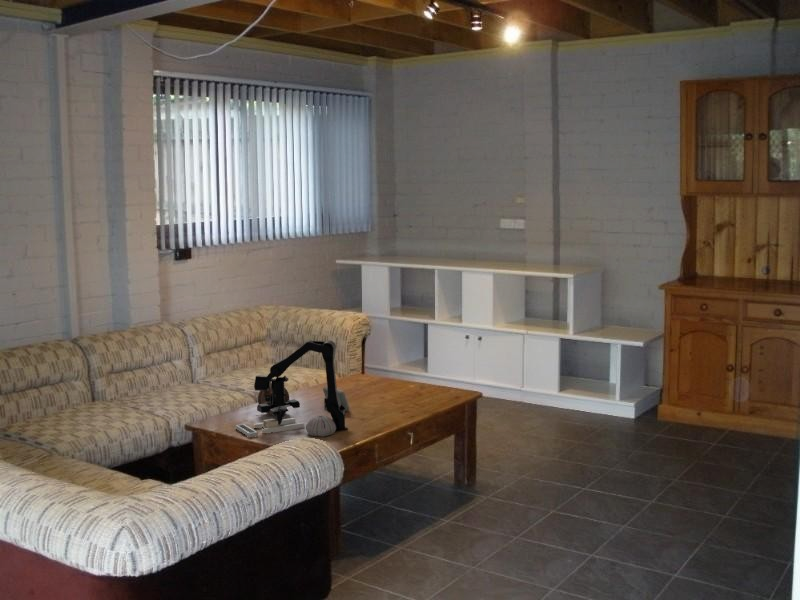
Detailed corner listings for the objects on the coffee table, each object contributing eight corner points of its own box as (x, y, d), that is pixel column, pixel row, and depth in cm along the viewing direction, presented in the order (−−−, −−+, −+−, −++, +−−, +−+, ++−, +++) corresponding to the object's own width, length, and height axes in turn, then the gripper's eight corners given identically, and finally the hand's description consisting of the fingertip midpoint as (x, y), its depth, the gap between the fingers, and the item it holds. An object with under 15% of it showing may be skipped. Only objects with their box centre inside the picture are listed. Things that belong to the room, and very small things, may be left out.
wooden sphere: (278, 408, 442) (277, 378, 440) (295, 414, 431) (295, 383, 429) (252, 413, 432) (251, 383, 430) (269, 419, 421) (268, 388, 419)
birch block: (278, 429, 404) (277, 421, 403) (267, 431, 401) (267, 422, 401) (273, 427, 408) (273, 418, 408) (263, 428, 405) (263, 420, 405)
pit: (257, 436, 393) (257, 432, 393) (249, 438, 391) (249, 433, 391) (244, 428, 407) (244, 423, 406) (235, 429, 405) (235, 425, 404)
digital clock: (351, 412, 434) (350, 390, 433) (333, 414, 430) (333, 392, 429) (337, 404, 448) (336, 383, 447) (320, 407, 444) (320, 386, 443)
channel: (304, 427, 407) (304, 423, 407) (263, 434, 397) (262, 429, 397) (294, 422, 417) (293, 417, 416) (253, 428, 406) (253, 424, 406)
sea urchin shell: (341, 431, 401) (341, 413, 400) (328, 439, 389) (327, 421, 387) (314, 428, 406) (314, 411, 405) (300, 436, 393) (300, 418, 392)
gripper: (289, 384, 416) (290, 417, 418) (251, 390, 407) (252, 423, 409) (299, 389, 407) (300, 423, 409) (261, 394, 397) (262, 429, 399)
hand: (279, 424), depth 407 cm, fingers closed
